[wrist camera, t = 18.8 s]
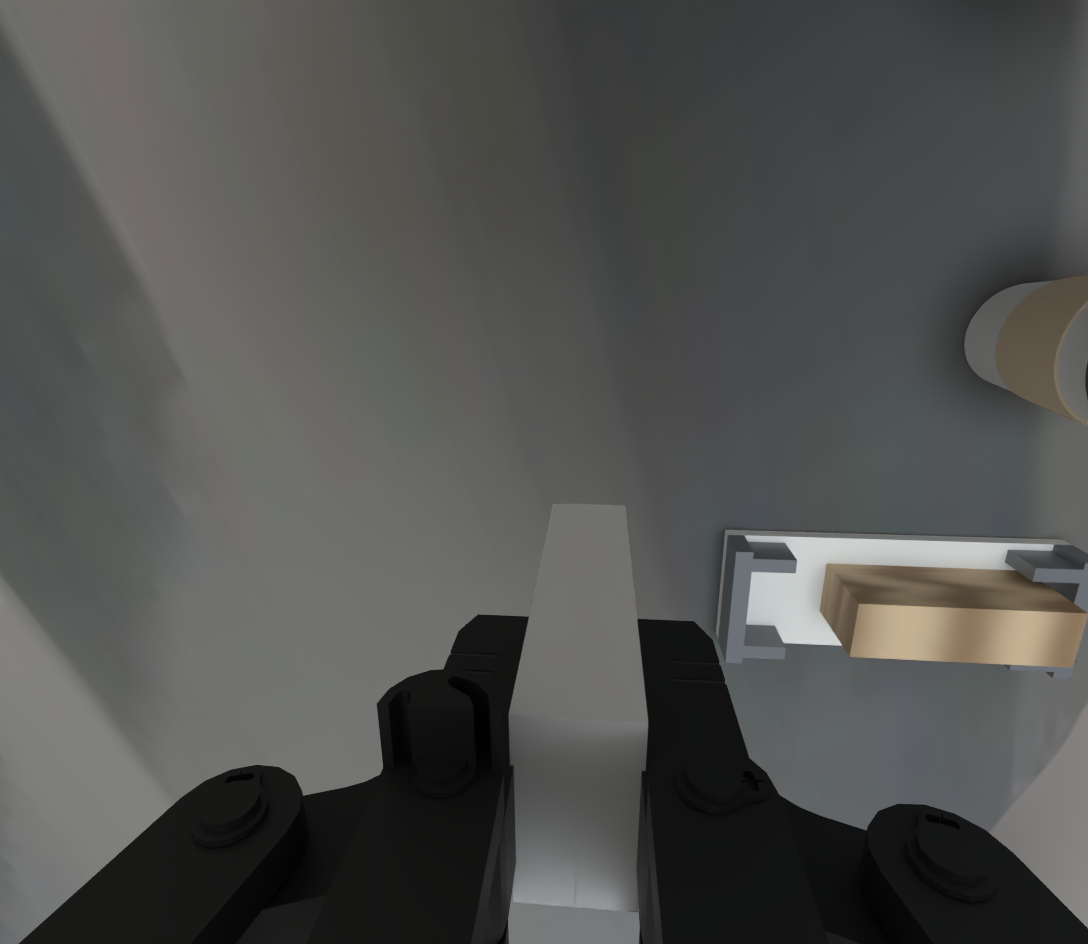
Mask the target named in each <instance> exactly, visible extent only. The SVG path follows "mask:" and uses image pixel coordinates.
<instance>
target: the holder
mask: <svg viewBox="0 0 1088 944" xmlns="http://www.w3.org/2000/svg"><path fill="white" fill-rule="evenodd" d="M827 563H832V564H859V565H886V566H913V567H940V568H967V569H994V570H1017V571H1018V572H1019V573H1021V574H1022V575H1024V576H1025V577H1027V578H1028V579H1029V580H1031V581H1032V582H1043V583H1045V584H1046V585H1048V586H1049V587H1051V588H1052V589H1054V590H1055V591H1057V592H1058V593H1059V594H1061V595H1062V596H1064V597H1065V598H1067V599H1068V600H1070V601H1071V602H1073V603H1074V604H1075V605H1077V606H1078V607H1080V608H1081V609H1083V610H1084V611H1086V612H1087V613H1088V554H1087V553H1085V552H1083V551H1082V550H1080V549H1078V548H1076V547H1074V546H1073V545H1071V544H1069V543H1067V542H1066V541H1064V540H1062V539H1030V538H996V537H962V536H927V535H893V534H859V533H824V532H790V531H756V530H725V537H724V548H723V559H722V570H721V581H720V592H719V603H718V614H717V626H716V635H717V638H718V641H719V645H720V648H721V651H722V654H723V657H724V660H725V663H742V658H761V659H783V660H784V658H785V651H786V647H785V645H784V643H796V644H818V645H841V646H842V644H841V643H840V641H839V640H838V638H837V637H836V635H835V634H834V632H833V631H832V629H831V627H830V626H829V624H828V623H827V621H826V620H825V618H824V617H823V615H822V614H821V612H820V605H821V598H822V592H823V585H824V578H825V572H826V565H827ZM1087 622H1088V617H1087V620H1086V624H1085V627H1084V630H1083V634H1082V637H1081V640H1080V644H1079V647H1078V650H1077V654H1076V657H1075V660H1074V664H1073V667H1072V668H1068V667H1048V666H1028V665H1007V664H1004V665H1005V666H1006V667H1007V668H1008V669H1009V670H1021V671H1042V672H1046V673H1047V674H1049V675H1050V676H1051V677H1052V678H1062V679H1071V676H1072V673H1073V669H1074V666H1075V663H1076V659H1077V656H1078V652H1079V649H1080V646H1081V642H1082V639H1083V636H1084V632H1085V629H1086V625H1087Z"/></svg>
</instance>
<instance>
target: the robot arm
mask: <svg viewBox="0 0 1088 944" xmlns="http://www.w3.org/2000/svg"><path fill="white" fill-rule="evenodd" d="M377 710H378V720H379V729H380V739H381V749H382V758H383V770H382V772H381V774H380V775H379V776H376V777H374V778H372V779H370V780H368V781H366V782H363V783H359V784H356V785H352V786H349V787H345V788H340V789H335V790H330V791H325V792H320V793H315V794H310V795H305V796H303V794H302V790H301V788H300V786H299V784H298V782H297V780H296V778H295V776H294V775H292V774H290V773H288V772H286V771H285V770H283V769H281V768H279V767H273V766H262V765H254V766H248V767H243V768H238V769H232V770H229V771H227V772H225V773H222V774H220V775H218V776H215V777H213V778H211V779H208V780H206V781H204V782H203V783H201V784H200V785H199V786H197V787H196V788H194V789H193V790H192V791H190V792H189V793H187V794H186V795H185V796H183V797H182V798H180V799H179V800H178V801H177V802H176V803H175V804H174V805H173V806H172V807H170V808H169V809H168V810H167V811H166V812H165V813H164V814H163V815H162V816H160V817H159V818H158V819H157V820H156V821H155V822H154V823H153V824H152V825H150V826H149V827H148V828H147V829H146V830H145V831H144V832H143V833H141V834H140V835H139V836H138V837H137V838H136V839H135V840H134V841H133V842H131V843H130V844H129V845H128V846H127V847H126V848H125V849H124V850H123V851H121V852H120V853H119V854H118V855H117V856H116V857H115V858H114V859H113V860H111V861H110V862H109V863H108V864H107V865H106V866H105V867H104V868H103V869H101V870H100V871H99V872H98V873H97V874H96V875H95V876H94V877H92V878H91V879H90V880H89V881H88V882H87V883H86V884H85V885H84V886H82V887H81V888H80V889H79V890H78V891H77V892H76V893H75V894H74V895H72V896H71V897H70V898H69V899H68V900H67V901H66V902H65V903H64V904H62V905H61V906H60V907H59V908H58V909H57V910H56V911H55V912H54V913H52V914H51V915H50V916H49V917H48V918H47V919H46V920H45V921H43V922H42V923H41V924H40V925H39V926H38V927H37V928H36V929H35V930H33V931H32V932H31V933H30V934H29V935H28V936H27V937H26V938H25V939H23V940H22V941H21V942H20V943H19V944H509V940H508V915H509V908H510V901H511V894H512V887H513V902H519V903H531V904H543V905H555V906H567V907H580V908H592V909H604V910H616V911H629V912H638V904H639V920H640V936H639V944H1088V928H1087V927H1086V926H1085V925H1084V924H1083V923H1082V922H1081V921H1080V920H1079V919H1078V918H1077V917H1076V916H1075V915H1074V914H1073V913H1072V912H1071V911H1070V910H1069V909H1068V908H1067V907H1066V906H1065V905H1064V904H1063V903H1062V902H1061V901H1060V900H1059V899H1058V898H1057V897H1056V896H1055V895H1054V894H1053V893H1052V892H1051V891H1050V890H1049V889H1048V888H1047V887H1046V886H1045V885H1044V884H1043V883H1042V882H1041V881H1040V880H1039V879H1038V878H1037V877H1036V876H1035V875H1034V874H1033V873H1032V872H1031V871H1030V870H1029V868H1028V867H1026V865H1025V864H1024V863H1023V862H1021V860H1020V859H1019V858H1018V857H1017V856H1016V855H1014V853H1013V852H1011V851H1010V850H1009V849H1008V848H1007V847H1005V846H1004V845H1003V844H1002V843H1000V842H999V841H998V840H997V839H996V838H994V837H993V836H992V835H991V834H989V833H988V832H987V831H986V830H984V829H982V828H980V827H978V826H977V825H975V824H973V823H971V822H969V821H967V820H965V819H963V818H962V817H960V816H958V815H956V814H954V813H950V812H947V811H944V810H940V809H937V808H934V807H930V806H927V805H916V804H896V805H894V806H891V807H888V808H886V809H883V810H880V811H878V812H877V814H876V815H875V817H874V818H873V820H872V821H871V822H870V824H869V825H868V828H867V831H866V830H863V829H860V828H857V827H853V826H850V825H847V824H844V823H841V822H838V821H835V820H832V819H829V818H825V817H822V816H819V815H817V814H815V813H812V812H810V811H807V810H805V809H802V808H800V807H798V806H796V805H795V804H793V803H791V802H790V801H788V800H786V799H785V798H783V797H781V796H780V795H779V794H778V792H777V790H776V788H775V787H774V785H773V783H772V781H771V780H770V778H769V776H768V775H767V773H766V772H765V771H764V770H763V769H761V768H760V767H759V766H758V765H757V764H756V763H754V762H753V761H752V760H751V759H750V758H749V756H748V753H747V749H746V746H745V743H744V740H743V736H742V733H741V730H740V727H739V724H738V720H737V717H736V714H735V711H734V707H733V704H732V701H731V698H730V694H729V691H728V688H727V685H726V684H725V678H724V675H723V672H722V669H721V666H719V659H718V656H717V652H716V649H715V646H714V643H713V640H712V639H711V638H710V637H709V636H708V635H707V634H706V633H705V632H704V631H703V630H702V629H701V628H700V627H699V626H698V625H697V624H696V623H695V622H694V621H673V620H649V619H637V612H636V603H635V594H634V584H633V575H632V566H631V556H630V547H629V538H628V528H627V519H626V510H625V505H594V504H556V503H553V506H552V511H551V516H550V520H549V525H548V530H547V535H546V539H545V544H544V549H543V554H542V558H541V563H540V568H539V573H538V577H537V582H536V587H535V592H534V596H533V601H532V606H531V611H530V615H529V617H523V616H500V615H477V616H476V617H475V618H473V619H472V620H471V621H470V622H469V623H468V624H466V625H465V626H464V627H463V628H462V629H461V630H460V631H459V632H458V634H457V637H456V639H455V642H454V644H453V647H452V649H451V655H449V657H448V659H447V662H446V664H445V667H444V669H443V670H430V671H427V672H423V673H420V674H417V675H414V676H410V677H408V678H406V679H404V680H403V681H401V682H399V683H398V684H396V685H395V686H393V687H391V688H390V689H389V690H388V691H387V692H386V693H385V695H384V696H383V697H382V698H381V699H380V701H379V702H378V703H377Z"/></svg>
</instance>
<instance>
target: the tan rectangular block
mask: <svg viewBox="0 0 1088 944" xmlns="http://www.w3.org/2000/svg"><path fill="white" fill-rule="evenodd" d="M820 612H821V614H822V615H823V617H824V618H825V620H826V621H827V623H828V624H829V626H830V627H831V629H832V631H833V632H834V634H835V635H836V637H837V638H838V640H839V641H840V643H841V644H842V646H843V647H844V649H845V650H846V652H847V653H848V655H849V656H850V657H864V658H885V659H905V660H926V661H946V662H966V663H987V664H1007V665H1028V666H1048V667H1068V668H1072V667H1073V664H1074V660H1075V657H1076V654H1077V650H1078V647H1079V644H1080V640H1081V637H1082V634H1083V630H1084V627H1085V624H1086V620H1087V617H1088V613H1087V612H1086V611H1084V610H1083V609H1081V608H1080V607H1078V606H1077V605H1075V604H1074V603H1073V602H1071V601H1070V600H1068V599H1067V598H1065V597H1064V596H1062V595H1061V594H1059V593H1058V592H1057V591H1055V590H1054V589H1052V588H1051V587H1049V586H1048V585H1046V584H1045V583H1043V582H1032V581H1031V580H1029V579H1028V578H1027V577H1025V576H1024V575H1022V574H1021V573H1019V572H1018V571H1017V570H994V569H967V568H940V567H913V566H886V565H859V564H832V563H827V565H826V572H825V578H824V585H823V592H822V598H821V605H820Z"/></svg>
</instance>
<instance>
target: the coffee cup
mask: <svg viewBox="0 0 1088 944" xmlns="http://www.w3.org/2000/svg"><path fill="white" fill-rule="evenodd" d="M964 350H965V356H966V359H967V362H968V364H969V366H970V367H971V369H972V370H973V371H974V372H975V373H976V374H977V375H978V376H979V377H980V378H982V379H984V380H985V381H987V382H990V383H992V384H995V385H997V386H999V387H1002V388H1004V389H1007V390H1009V391H1011V392H1013V393H1014V394H1016V395H1017V396H1019V397H1021V398H1023V399H1025V400H1027V401H1029V402H1032V403H1034V404H1036V405H1039V406H1041V407H1043V408H1046V409H1048V410H1050V411H1052V412H1055V413H1057V414H1059V415H1062V416H1064V417H1066V418H1069V419H1071V420H1073V421H1075V422H1078V423H1080V424H1082V425H1085V426H1087V427H1088V275H1081V276H1073V277H1067V278H1063V279H1059V280H1052V281H1043V282H1033V283H1024V284H1019V285H1015V286H1012V287H1009V288H1006V289H1004V290H1002V291H1000V292H998V293H997V294H995V295H994V296H992V297H991V298H990V299H988V300H987V301H986V302H985V303H984V304H983V305H982V306H981V307H980V308H979V309H978V310H977V312H976V313H975V315H974V316H973V318H972V319H971V321H970V323H969V326H968V328H967V331H966V335H965V341H964Z"/></svg>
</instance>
